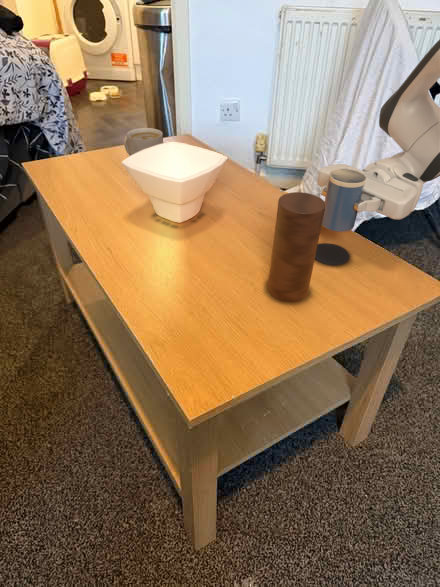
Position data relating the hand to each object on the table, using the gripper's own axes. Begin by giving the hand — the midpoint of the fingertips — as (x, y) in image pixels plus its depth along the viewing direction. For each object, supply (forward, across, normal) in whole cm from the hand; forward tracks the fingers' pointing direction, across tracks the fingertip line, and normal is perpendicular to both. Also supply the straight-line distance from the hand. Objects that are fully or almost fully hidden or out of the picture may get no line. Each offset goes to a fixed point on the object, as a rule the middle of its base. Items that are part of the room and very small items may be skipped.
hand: (339, 199), depth 79 cm
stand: (+15, +3, +13) cm, 20 cm away
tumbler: (-1, 0, +6) cm, 6 cm away
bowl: (+15, -33, +13) cm, 39 cm away
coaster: (-1, 0, +13) cm, 13 cm away
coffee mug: (+6, -64, +13) cm, 66 cm away
